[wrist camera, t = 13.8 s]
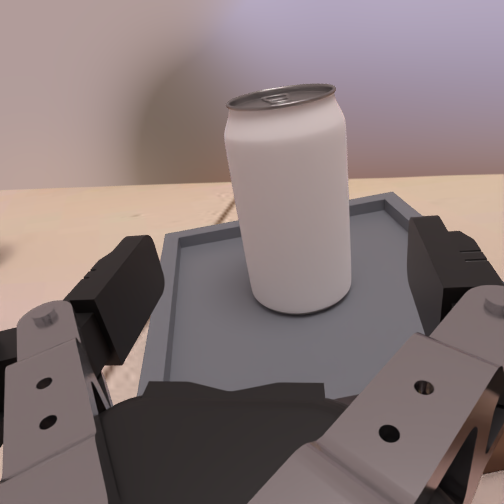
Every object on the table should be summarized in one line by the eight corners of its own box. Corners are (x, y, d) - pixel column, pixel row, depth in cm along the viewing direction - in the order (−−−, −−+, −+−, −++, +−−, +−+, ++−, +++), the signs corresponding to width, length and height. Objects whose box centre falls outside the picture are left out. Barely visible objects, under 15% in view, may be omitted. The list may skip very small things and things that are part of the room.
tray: (392, 214, 36) (392, 191, 35) (573, 384, 18) (585, 348, 17) (171, 256, 35) (165, 234, 34) (143, 471, 18) (129, 440, 17)
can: (259, 328, 23) (221, 117, 18) (247, 271, 29) (214, 97, 23) (367, 306, 24) (364, 91, 18) (334, 254, 29) (323, 77, 23)
